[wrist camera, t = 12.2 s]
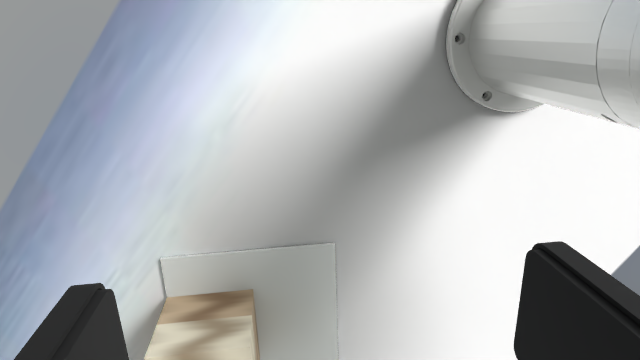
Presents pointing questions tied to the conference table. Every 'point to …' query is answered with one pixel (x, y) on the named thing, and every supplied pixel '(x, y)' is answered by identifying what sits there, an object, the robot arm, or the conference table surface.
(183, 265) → the mat
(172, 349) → the block upper
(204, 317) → the block lower
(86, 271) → the conference table surface
